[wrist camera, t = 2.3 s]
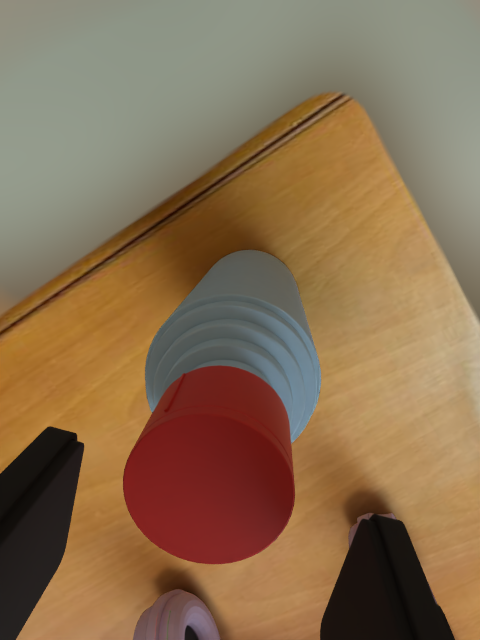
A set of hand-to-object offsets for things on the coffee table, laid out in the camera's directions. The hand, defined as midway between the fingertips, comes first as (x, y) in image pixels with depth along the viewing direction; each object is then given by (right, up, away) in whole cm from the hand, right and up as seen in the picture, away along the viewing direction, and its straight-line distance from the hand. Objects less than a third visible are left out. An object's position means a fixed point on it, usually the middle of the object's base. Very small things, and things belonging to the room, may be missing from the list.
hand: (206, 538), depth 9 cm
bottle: (+1, +6, +21) cm, 22 cm away
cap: (0, +1, +4) cm, 4 cm away
